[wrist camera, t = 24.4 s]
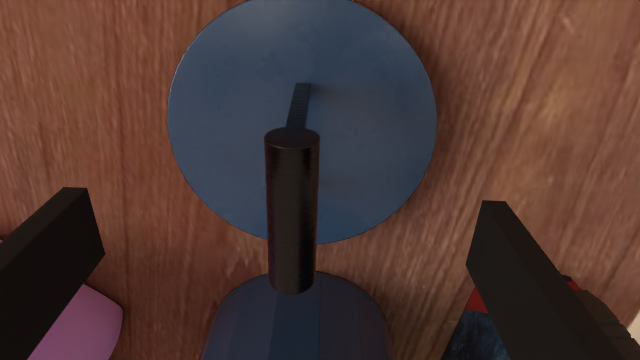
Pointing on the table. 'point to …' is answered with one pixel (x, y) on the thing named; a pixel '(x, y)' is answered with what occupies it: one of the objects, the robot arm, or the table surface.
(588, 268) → the table surface
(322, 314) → the pot
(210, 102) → the lid
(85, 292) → the teakettle
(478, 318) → the book
